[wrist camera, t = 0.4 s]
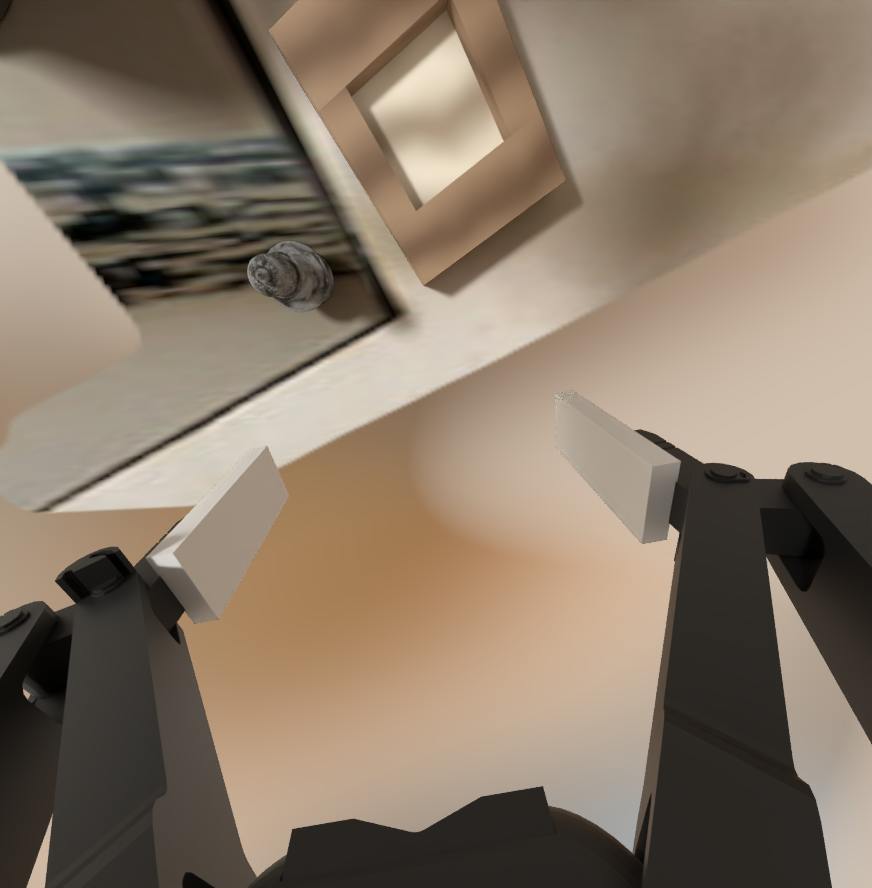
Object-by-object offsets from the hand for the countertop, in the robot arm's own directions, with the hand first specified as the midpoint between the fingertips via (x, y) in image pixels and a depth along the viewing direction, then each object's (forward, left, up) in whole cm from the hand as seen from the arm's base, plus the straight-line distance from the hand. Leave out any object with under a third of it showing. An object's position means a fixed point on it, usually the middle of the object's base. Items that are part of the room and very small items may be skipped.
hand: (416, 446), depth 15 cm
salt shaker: (-12, -5, -25) cm, 28 cm away
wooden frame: (-15, +12, -25) cm, 31 cm away
